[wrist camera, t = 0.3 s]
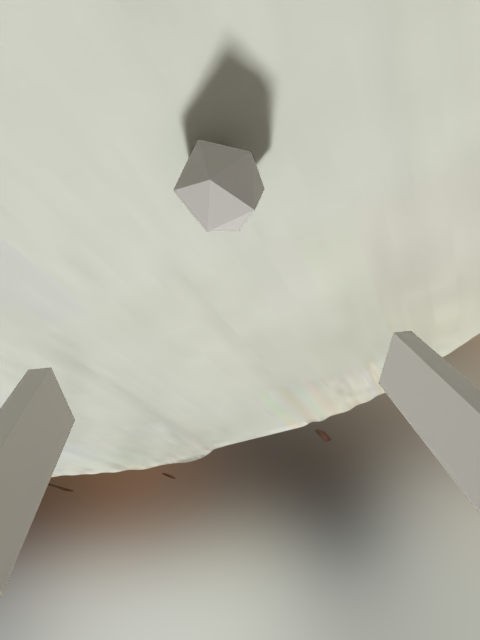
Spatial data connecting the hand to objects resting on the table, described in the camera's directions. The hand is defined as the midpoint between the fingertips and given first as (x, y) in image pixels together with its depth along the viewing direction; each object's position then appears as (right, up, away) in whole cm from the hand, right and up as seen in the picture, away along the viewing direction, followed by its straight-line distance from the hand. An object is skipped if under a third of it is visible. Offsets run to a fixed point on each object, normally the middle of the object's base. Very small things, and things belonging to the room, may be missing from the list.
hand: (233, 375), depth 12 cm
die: (-2, +19, +21) cm, 28 cm away
